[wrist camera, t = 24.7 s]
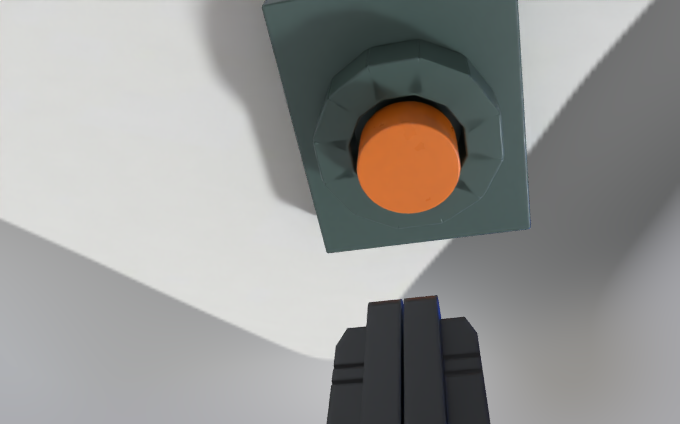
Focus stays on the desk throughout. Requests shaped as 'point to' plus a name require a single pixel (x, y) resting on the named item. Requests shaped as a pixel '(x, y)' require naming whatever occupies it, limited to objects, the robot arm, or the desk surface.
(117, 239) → the desk surface
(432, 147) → the button
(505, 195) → the control block
